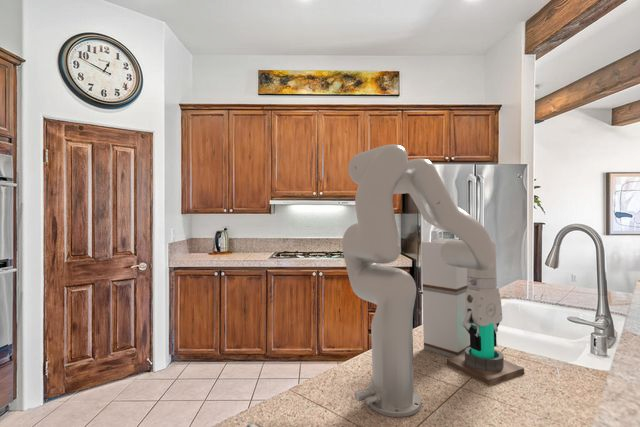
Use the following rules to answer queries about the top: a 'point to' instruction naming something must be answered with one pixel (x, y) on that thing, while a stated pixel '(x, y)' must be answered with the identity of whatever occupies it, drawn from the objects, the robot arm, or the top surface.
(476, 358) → the candle stand
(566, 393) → the top surface
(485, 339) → the candle
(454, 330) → the tall banded pillar
